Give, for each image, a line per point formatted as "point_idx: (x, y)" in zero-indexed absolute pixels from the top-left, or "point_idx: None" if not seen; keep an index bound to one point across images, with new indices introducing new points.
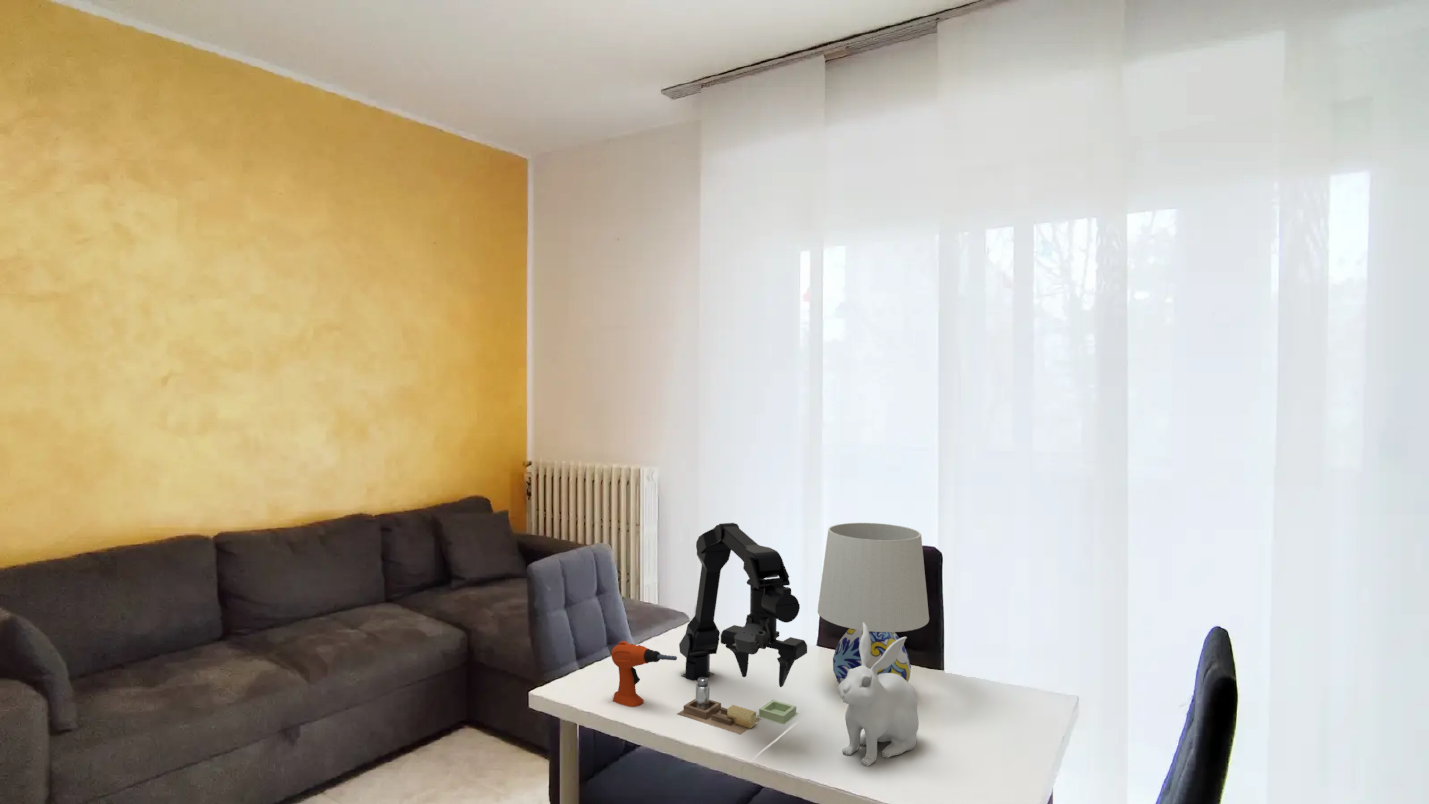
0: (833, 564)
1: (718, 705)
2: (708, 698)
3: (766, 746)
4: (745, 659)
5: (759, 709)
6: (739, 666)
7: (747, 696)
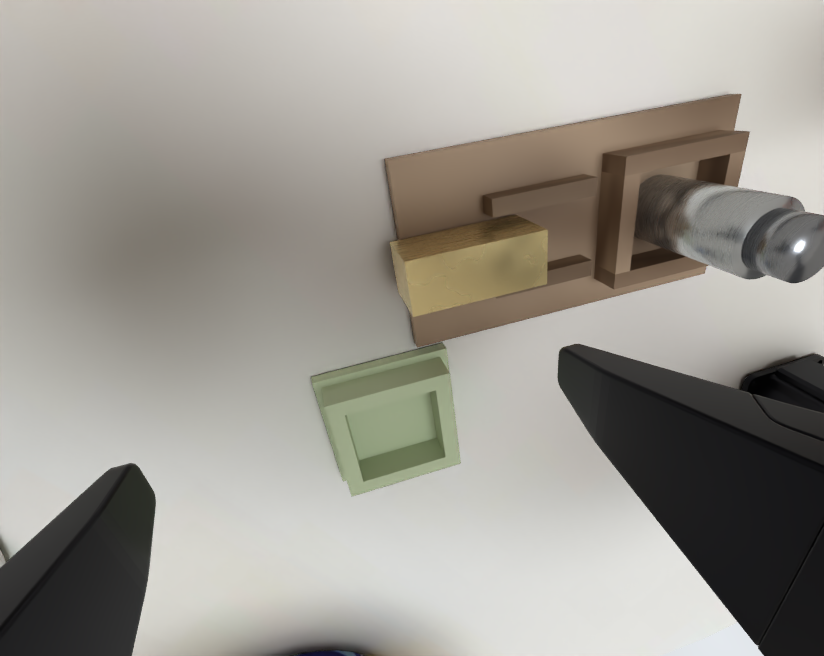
0: None
1: (613, 268)
2: (677, 231)
3: (222, 181)
4: (696, 503)
5: (447, 372)
6: (684, 378)
7: (571, 432)
